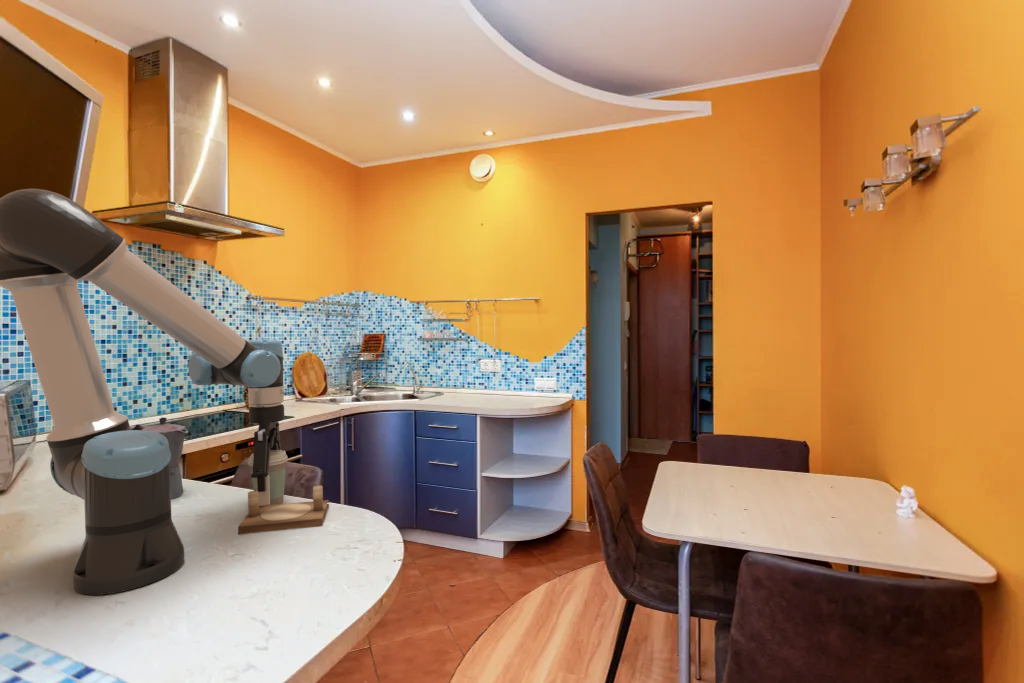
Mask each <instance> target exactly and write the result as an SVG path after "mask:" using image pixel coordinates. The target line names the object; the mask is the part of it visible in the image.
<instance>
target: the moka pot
mask: <svg viewBox="0 0 1024 683" xmlns="http://www.w3.org/2000/svg"><path fill="white" fill-rule="evenodd" d="M167 419H168V418H167V417H160V418H159V419H158V420H159V424H155V425H151V426H150V425H141V424H135V426H134V427H133V429H132V428H131V430H141V431H153V432H157V433H160V434H162V435H164V436H165V437H166V438H167V440H168V444H169V450H170V453H171V459H170V482H171V500H174V499H177V498H180V497H181V496H182V495H183V494H184V487H183V480H182V471H181V465H180V459H181V457H182V454H183V450H184V440H185V436H186V434H188V433H189V431H188V429H187V428H186V426H185V425H182V424H181V425H180V424H172V423H171V424H170V423H167Z"/></svg>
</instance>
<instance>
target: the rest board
mask: <svg viewBox="0 0 1024 683" xmlns="http://www.w3.org/2000/svg"><path fill="white" fill-rule="evenodd" d="M323 489H324V488H323V485H314V486H313V487H312V501H303V502H292V503H291V502H290V503H281V504H278V505H267V506H259V495H258V491H254V490H252V491H249V492H247V503H248V505H247V508H248V509H247V510H248V513H247V514H246V515H245V517H244V518H243V520H242V521H241V522H240V523H239V525H238V526H237V535H243V534H252V533H253V534H255V533H261V532H272V531H273V532H274V531H282V530H291V529H292V530H293V529H302V528H311V527H312V528H313V527H320V526H321V527H322V526H323V523H324V522H325V518H326V515H327V512H328V510H329V507H330V504H327V503H330V502H329V499H325V500H324V494H323V493H324V491H323Z"/></svg>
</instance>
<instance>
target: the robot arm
mask: <svg viewBox="0 0 1024 683" xmlns="http://www.w3.org/2000/svg"><path fill="white" fill-rule="evenodd" d="M85 281H86V282H91V283H92V284H93V285H95V286H96V287H98V288H99V289H100V290H102V291H103V292H104V293H107V295H109V296H111V297H112V298H114V299H115V300H116V301H118V302H120V303H121V304H123V305H124V306H126V308H129V310H132V312H134V313H136V314H137V315H139V316H141V317H142V318H143V319H145V320H146V321H147V322H149V323H150V324H151V325H153V326H155V327H157V328H158V329H159V330H161V331H162V332H164V333H165V334H166V335H168V336H169V337H171V338H172V339H174V340H176V341H177V342H178V343H179V344H181V345H183V346H184V347H186V348H187V349H189V350H190V351H192V352H193V353H191V355H190V358H189V360H188V366H187V367H188V368H187V370H188V375H189V378H190V380H191V382H192V383H193V384H194V385H196V386H213V385H231V386H240V387H241V386H242V387H248V388H247V389H248V390H247V391H248V392H247V395H248V405H249V406H250V407H249V408H248V421H249V423H251V424H258V429H257V430H256V431H254V433H253V435H254V440H253V441H254V445H253V454H254V459H253V473H252V474H251V473H250V479H252V478H255V482H256V491H258V495H259V506H263V505H270V486H269V475H268V467H269V458H270V450H282V444H281V436H280V422H282V421H283V420H284V419H285V405H284V404H282V403H283V402H284V399H285V398H284V395H285V394H287V391H286V389H284V354H283V344H282V342H281V341H280V340H278V339H249V340H247V339H246V338H243V337H242V336H241V335H240V334H238V333H237V332H235V331H234V330H233V329H232V328H231V327H229V325H228V326H227V325H226V323H224V322H223V321H222V320H220V319H219V318H218V317H216V316H215V315H213V314H212V313H211V312H209V311H208V310H207V309H206V308H204V307H203V306H202V305H200V304H199V303H198V302H197V301H196V300H194V299H192V298H191V296H189V295H187V294H186V292H183V291H182V290H181V289H180V288H178V286H176V285H174V284H173V283H172V282H171V281H169V280H168V279H167V278H165V277H164V276H163V275H162V274H160V273H159V272H158V271H156V270H155V269H154V268H152V267H151V266H150V265H148V264H147V263H145V261H143V260H142V259H141V258H139V257H138V256H137V255H136V254H134V253H133V252H132V251H130V250H129V249H128V248H127V243H126V239H125V238H124V237H123V236H121V235H120V234H119V233H117V232H116V231H115V230H114V229H112V228H111V227H110V226H108V225H107V224H106V223H104V222H103V220H100V219H99V218H98V217H97V216H95V214H93V213H92V212H91V211H89V210H88V209H86V208H85V207H83V206H81V205H80V204H79V203H77V202H76V201H74V200H73V199H70V198H68V197H67V196H64V195H63V194H60V193H57V192H54V191H50V190H48V189H40V188H25V189H17V190H15V191H11V192H9V193H7V194H5V195H4V196H2V197H0V287H2V288H3V289H5V290H6V291H9V293H10V294H11V296H12V299H13V300H12V301H13V303H14V305H15V309H16V311H17V315H18V319H19V321H20V324H21V327H22V330H23V332H24V336H25V339H26V341H27V346H28V349H29V351H30V354H31V357H32V358H31V359H32V361H33V364H34V367H35V370H36V373H37V376H38V379H39V383H40V385H41V389H42V391H43V395H44V398H45V402H46V403H47V406H48V407H47V408H48V410H49V413H50V417H51V420H52V422H53V428H52V429H51V431H50V432H49V433H48V434H47V436H46V437H45V439H46V441H47V445H48V448H49V452H50V454H51V458H50V463H49V469H50V472H51V473H50V474H51V476H52V479H53V480H54V482H55V483H56V484H57V486H58V487H59V488H61V489H62V490H63V491H64V492H67V493H69V494H70V495H72V496H75V497H78V498H80V499H82V500H83V501H84V523H85V524H84V525H85V527H84V528H85V537H84V540H83V543H82V545H81V549H80V552H79V554H78V558H77V560H76V563H75V566H74V569H73V572H72V588H73V591H75V592H76V593H79V594H83V595H91V596H92V595H93V596H94V595H95V596H97V595H98V596H99V595H108V594H115V593H121V592H125V591H129V590H133V589H138V588H141V587H144V586H146V585H150V584H152V583H155V582H157V581H160V580H162V579H164V578H166V577H169V576H170V575H172V574H173V573H174V572H176V571H177V570H179V569H180V568H182V566H183V565H184V563H185V547H184V544H183V542H182V540H181V537H180V536H179V533H178V530H177V528H176V526H175V525H174V522H173V519H172V499H171V482H170V459H171V453H170V450H169V444H168V440H167V438H166V437H165V436H164V435H162V434H160V433H157V432H153V431H141V430H132V428H131V425H130V422H129V420H128V416H126V415H124V414H122V413H120V412H118V411H116V409H115V407H114V405H113V402H112V401H113V400H112V398H111V394H110V390H109V387H108V384H107V380H106V377H105V374H104V372H103V368H102V364H101V362H100V358H99V357H100V356H99V354H98V351H97V347H96V344H95V340H94V337H93V334H92V330H91V327H90V322H89V321H88V317H87V315H86V310H85V306H84V303H83V300H82V297H81V294H80V291H79V287H78V284H79V282H85ZM259 470H262V471H259Z"/></svg>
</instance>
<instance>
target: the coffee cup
mask: <svg viewBox="0 0 1024 683" xmlns="http://www.w3.org/2000/svg"><path fill="white" fill-rule="evenodd" d="M249 457H250V458H249V459H248V463H247V465H248V466H249V470H250V475H251V474H252V473H253V459H254V453H252V454H250V456H249ZM287 461H289V458H288V455H287V453H286V450H282V449H281V450H270V458H269V467H268V475H269V486H270V505H278V504H284V503H283V502H284V497H285V496H284V494H285V486H286V485H285V483H286V474H287V464H288V463H287ZM259 471H262V470H259ZM251 482H252V488H253V490H252V491H256V482H255V478H251ZM263 506H267V505H263Z"/></svg>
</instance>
